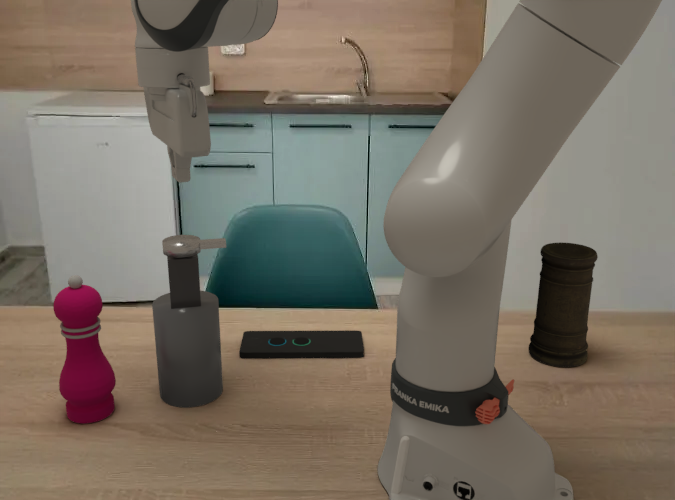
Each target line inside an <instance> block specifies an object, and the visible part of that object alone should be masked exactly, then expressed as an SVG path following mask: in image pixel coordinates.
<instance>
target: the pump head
mask: <svg viewBox="0 0 675 500" xmlns="http://www.w3.org/2000/svg"><path fill="white" fill-rule="evenodd" d="M161 243H162V253H163V255H164V256H166V257H167V256H169V257H176V258H180V257H189V256H194V255H196V254H200V253H201V250H210V249H213V250H214V249H226V248H227V241H226V237H221V238H220V237H219V238H207V239H201V238H200V237H199V236H197V235H194V234H193V235H192V234H175V235H171V236H167V237H165V238H164V239H162V242H161Z"/></svg>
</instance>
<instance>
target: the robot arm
mask: <svg viewBox="0 0 675 500" xmlns="http://www.w3.org/2000/svg"><path fill="white" fill-rule="evenodd" d="M662 1H663V0H519V3H517V5H515V7H514V9H513V10H512V12H511V13H510V15H509V17H508V18H507V20H506V22H505V23H504V25H503V27H502V28H501V29H500V31H499V33H498V34H497V36H496V37H495V39H494V41H493V42H492V43H491V45H490V47H489V48H488V50H487V52H485V55H484V57H483V58H482V59H481V60H480V62H479V64H478V65H477V67H476V69H475V70H474V72H473V73H472V75H471V76H470V78H469V79H468V81H467V82H466V84H465V85H464V86H463V88H462V89H461V90H460V92H459V93H458V95H456V97H455V99H454V100H453V101H452V102H451V104H450V106H449V107H448V109H447V110H446V111H445V112H444V114H443V115H442V117H441V118H440V120H438V123H437V124H436V125H435V127H434V128H433V129H432V130H431V132H430V134H429V135H428V137H427V138H426V139H425V141H424V143H423V144H422V146H420V148H419V149H418V152H417V153H416V154H415V156H414V157H412V158H413V159H411V161H410V163H409V164H408V165H407V167H406V169H405V170H404V171H403V173H402V174H401V176H400V177H399V179H398V181H397V182H396V184H395V186H394V187H393V189H392V191H391V193H390V195H389V198H388V201H387V203H386V208H385V211H384V215H383V224H382V225H383V233H384V239H385V242H386V244H387V247H388V249H389V250H390V252H391V254H392V255H393V256H394V258H395V259H396V260H397V261H398V262H399V263H400V264H401V265H402V266H404V273H403V277H402V283H401V285H400V286H401V287H400V291H399V292H398V293H399V294H398V297H397V298H398V299H397V309H396V310H397V312H396V313H397V314H396V336H395V337H396V338H395V339H396V340H395V341H396V342H395V358H394V359H393V361H392V363H391V372H390V389H389V392H390V393H389V394H390V400H391V401H392V404H391V405H392V406H391V413H390V420H389V421H390V422H389V426H388V432H387V436H386V440H385V444H384V447H383V451H382V454H381V456H380V458H379V461H378V464H377V474H378V478H379V481H380V483H381V485H382V486H383V487H384V489H385V490H386V492H387V494H388V497H389V500H574V490H573V487H572V484H571V482H570V481H569V479H567V478H566V477H564V476H562V475H560V474H559V473H556V472H555V471H556V469H555V460H554V455H553V451H552V449H551V446H550V444H549V443H548V441H547V440H546V439H545V438H543V437H542V436H541V435H540V434H539V433H538V432H537V431H536V430H535V429H534V428H533V427H532V426H531V425H530V424H529V423H528V422H527V421H526V420H525V419H524V418H523V417H522V416H520V415H519V413H518V412H517V411H516V410H515V409H513V407H511V405H510V404H509V395H510V394H511V393H512V392H513V391H514V388H515V386H514V383H515V379H511V380H510V381H509V382H508V383H507V384H506V385H505V384H504V383H503V382H502V380H501V378H500V376H499V373H498V371H497V369H496V367H495V366H496V365H495V364H496V363H495V362H496V352H497V342H498V341H497V340H498V333H499V332H498V331H499V317H500V308H501V307H500V306H501V301H502V294H503V286H504V280H505V273H506V267H507V259H508V251H509V244H510V237H511V228H512V227H511V226H512V220H513V219H514V217H515V215H516V214H517V212H518V211H519V210H520V208H521V207H522V205H523V204H524V203H525V201H526V200H527V198H528V196H530V194H531V192H532V191H533V190H534V188H535V187H536V186H537V184H538V182H539V181H540V179H542V177H543V175H544V174H545V173H546V171H547V170H548V168H549V166H550V164H552V162H553V160H555V157H556V156H557V155H558V154H559V152H560V150H561V149H562V147H564V145H565V143H566V142H567V140H568V139H569V137H570V136H571V135H572V133H573V132H574V130H575V129H576V128H577V126H578V125H579V124H580V122H581V121H582V120H583V118H584V117H585V116H586V114H587V113H588V112H589V110H590V109H591V107H592V106H593V105H594V103H595V102H596V101H597V99H598V98H599V96H601V94H602V92H603V91H604V90H605V88H606V87H607V86H608V84H609V83H610V82H611V80H612V79H613V78H614V76H615V75H616V73H617V72H618V71H619V69H620V68H621V66H622V65H623V64H624V62H625V61H626V59H627V58H628V57H629V56H630V53H632V51H633V50H634V49H635V47H636V45H637V43H638V42H639V40H640V39H641V37H643V36H642V35H644V33H645V31H646V30H647V28H648V27H649V24H650V23H651V21H652V20H653V18H654V16H655V14H656V12H657V10H659V9H658V8H659V7H660V5H661V2H662ZM130 6H131V12H132V16H133V18H134V20H135V27H136V36H135V41H134V47H135V48H134V49H135V50H134V51H135V63H136V75H137V84H138V86H139V87H141V88H143V95H144V101H145V107H146V113H147V119H148V123H149V127H150V131H151V134H152V135H153V136H154V137H155V138H157V139H158V140H159V141H161V142H162V143H164V145H165V146H166V149H167V154H168V158H169V162H170V165H171V166H170V167H171V176H172V178H173V179H174V180H176V181H177V182H178V183H188V182H190V181H191V165H192V159H193V158H200V157H207V156H209V155H210V153H211V148H212V147H211V146H212V142H211V141H212V140H211V131H210V119H209V110H208V104H207V99H206V95H205V94H204V92H203V91H202V90H201V87H207V86H210V84H211V75H210V58H209V48H210V47H211V48H212V47H225V46H233V45H234V46H235V45H236V46H237V45H246V44H250V43H252V42H256V41H258V40H260V39H262V38H264V37H265V36H266V35H267V34H268V33H269V32H270V31H271V29H272V28H273V26H274V24H275V21H276V18H277V14H278V9H279V0H130Z"/></svg>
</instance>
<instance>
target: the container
mask: <svg viewBox="0 0 675 500" xmlns="http://www.w3.org/2000/svg"><path fill="white" fill-rule="evenodd" d="M540 255H541V260H540V261H541V270H540V271H539V281H538V282H539V283H538V292H537V294H538V295H537V301H536V309H535V311H536V312H535V318H534V320H533V333H532V334H531V336H530V337H529V341H530V343H529V344H528V353H529V355H530V356H531V358H533V359H534V360H535V361H537V362H539V363H541V364H544V365H548V366H551V367H558V368H574V367H577V366H581V365H583V364H584V363H585V362H587V359H588V356H589V354H588V349H589V344H588V342H587V337H588V336H587V335H588V331H589V326H588V322H589V312H590V311H589V310H590V304H591V295H592V287H593V283H594V277H593V274H594V273H593V272H594V268H595V266H596V264H595V263H596V262H597V261H598V258H599V256H598V253H597V251H596V250H595V249H594V248H592V247H589V246H587V245H583V244H579V243H573V242H552V243H551V242H549V243H547V244H544V245H543V246H542V247H541V248H540Z"/></svg>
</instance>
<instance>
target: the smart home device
mask: <svg viewBox="0 0 675 500" xmlns="http://www.w3.org/2000/svg"><path fill="white" fill-rule="evenodd" d="M238 351H239V354H238V356H239V359H243V360H252V359H253V360H254V359H255V360H256V359H257V360H258V359H262V360H265V359H268V360H269V359H273V360H275V359H277V360H278V359H280V360H281V359H282V360H283V359H286V360H288V359H294V360H295V359H362V358H364V357H365V346H364V339H363V332H362V331H361V330H246V331H243V333H242V338H241V341H240V347H239V350H238Z"/></svg>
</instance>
